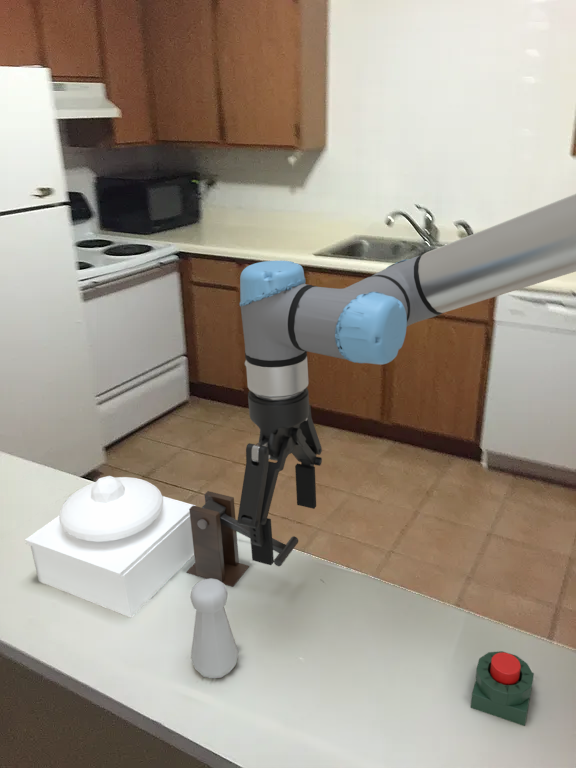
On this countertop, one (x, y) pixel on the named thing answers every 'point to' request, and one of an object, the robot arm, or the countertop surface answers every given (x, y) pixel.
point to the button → (505, 668)
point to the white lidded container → (114, 543)
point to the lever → (233, 524)
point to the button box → (502, 692)
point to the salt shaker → (212, 630)
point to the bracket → (215, 543)
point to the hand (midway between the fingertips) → (286, 532)
